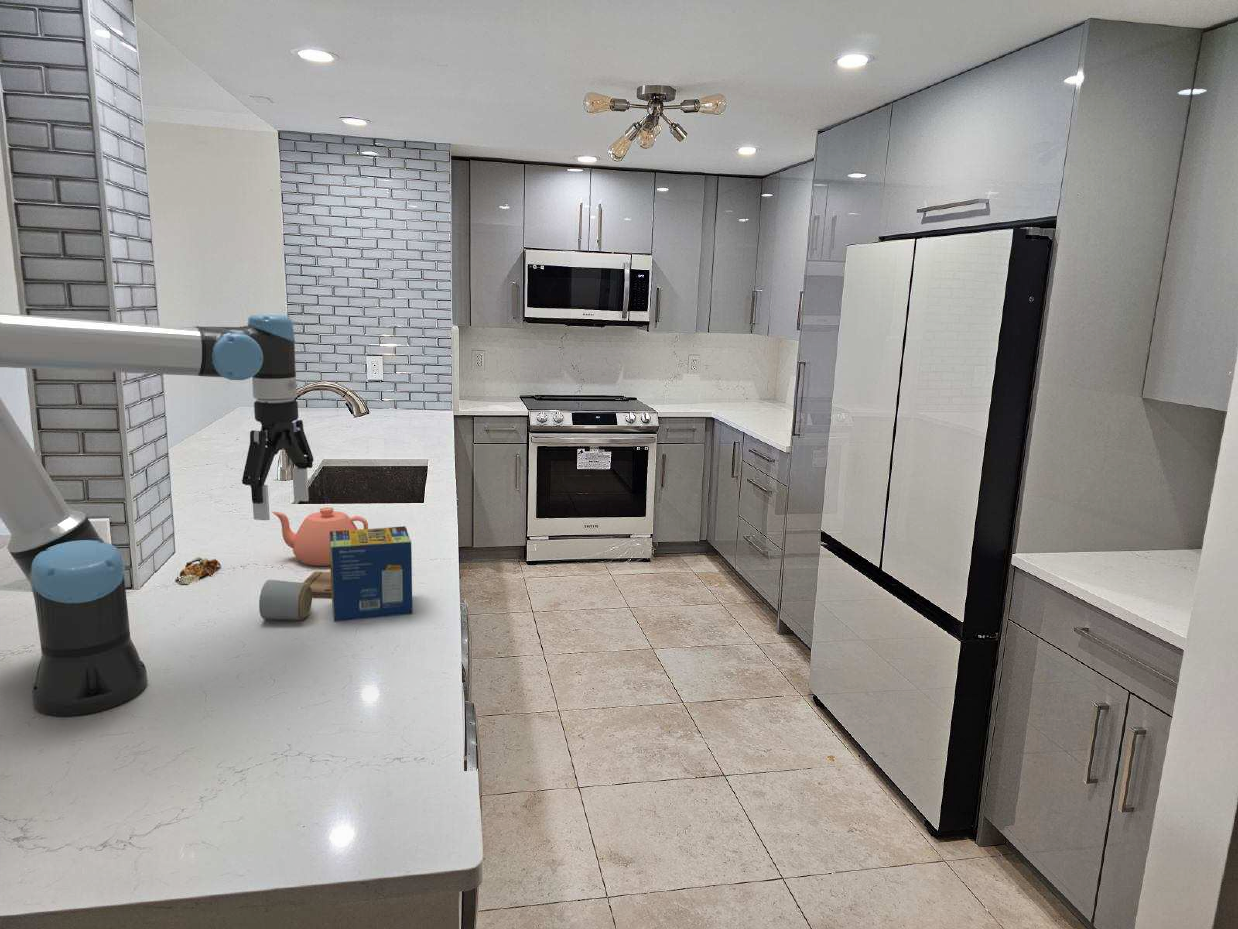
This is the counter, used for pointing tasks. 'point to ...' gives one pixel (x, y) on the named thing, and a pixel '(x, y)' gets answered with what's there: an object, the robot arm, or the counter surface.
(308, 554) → the teapot
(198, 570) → the grilled chicken meal
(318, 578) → the walnut board
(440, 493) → the counter surface
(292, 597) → the ceramic mug
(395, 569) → the protein box
